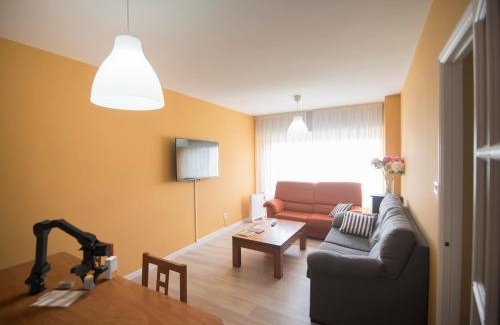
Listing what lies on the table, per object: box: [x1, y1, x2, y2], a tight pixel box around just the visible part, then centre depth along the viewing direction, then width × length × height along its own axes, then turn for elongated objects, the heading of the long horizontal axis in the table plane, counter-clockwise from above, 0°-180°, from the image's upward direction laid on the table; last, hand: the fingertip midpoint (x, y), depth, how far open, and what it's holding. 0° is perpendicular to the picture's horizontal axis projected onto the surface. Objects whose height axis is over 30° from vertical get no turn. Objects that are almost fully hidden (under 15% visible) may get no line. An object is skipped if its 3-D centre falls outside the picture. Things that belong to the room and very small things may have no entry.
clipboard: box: [28, 289, 89, 309], centre depth 123 cm, size 20×14×1 cm
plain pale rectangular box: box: [57, 280, 76, 290], centre depth 134 cm, size 7×3×3 cm, turn 98°
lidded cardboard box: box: [83, 274, 96, 290], centre depth 133 cm, size 4×4×6 cm
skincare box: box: [104, 255, 118, 280], centre depth 145 cm, size 6×4×12 cm
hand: (89, 283), depth 133 cm, fingers open, 6 cm apart
